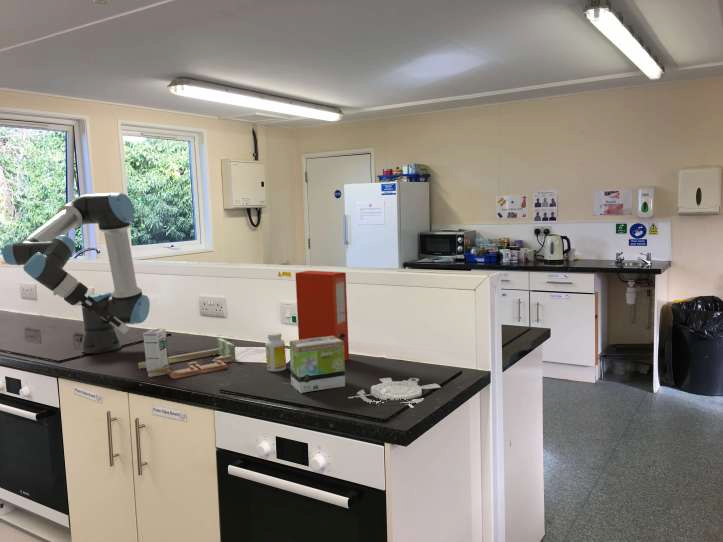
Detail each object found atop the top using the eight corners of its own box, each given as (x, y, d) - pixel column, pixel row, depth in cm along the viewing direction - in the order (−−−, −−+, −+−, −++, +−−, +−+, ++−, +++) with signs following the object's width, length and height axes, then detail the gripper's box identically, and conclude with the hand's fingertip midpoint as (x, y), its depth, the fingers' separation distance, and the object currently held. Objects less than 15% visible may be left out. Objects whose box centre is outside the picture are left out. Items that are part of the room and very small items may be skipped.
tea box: (300, 394, 182) (298, 347, 180) (290, 385, 191) (288, 340, 189) (346, 386, 188) (344, 340, 186) (335, 378, 197) (332, 334, 195)
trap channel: (138, 368, 220) (137, 351, 219) (221, 352, 237) (220, 337, 236) (155, 382, 200) (153, 365, 200) (244, 364, 218) (243, 348, 217)
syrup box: (161, 372, 213) (157, 332, 211) (146, 372, 214) (142, 332, 212) (169, 367, 218) (166, 328, 216) (154, 367, 219) (151, 328, 218)
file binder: (313, 353, 230) (309, 270, 226) (349, 358, 220) (345, 272, 216) (299, 358, 224) (294, 272, 220) (335, 364, 213) (331, 275, 209)
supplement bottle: (289, 367, 212) (287, 331, 210) (281, 372, 206) (278, 336, 204) (272, 366, 214) (270, 331, 213) (263, 371, 208) (261, 335, 206)
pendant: (341, 403, 174) (341, 398, 174) (386, 376, 198) (386, 372, 198) (408, 414, 164) (407, 409, 163) (447, 384, 188) (447, 380, 187)
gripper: (57, 294, 207) (107, 330, 217) (68, 303, 187) (123, 342, 197) (72, 277, 210) (121, 314, 220) (85, 284, 189) (138, 324, 199)
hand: (122, 327), depth 208 cm, fingers open, 13 cm apart
